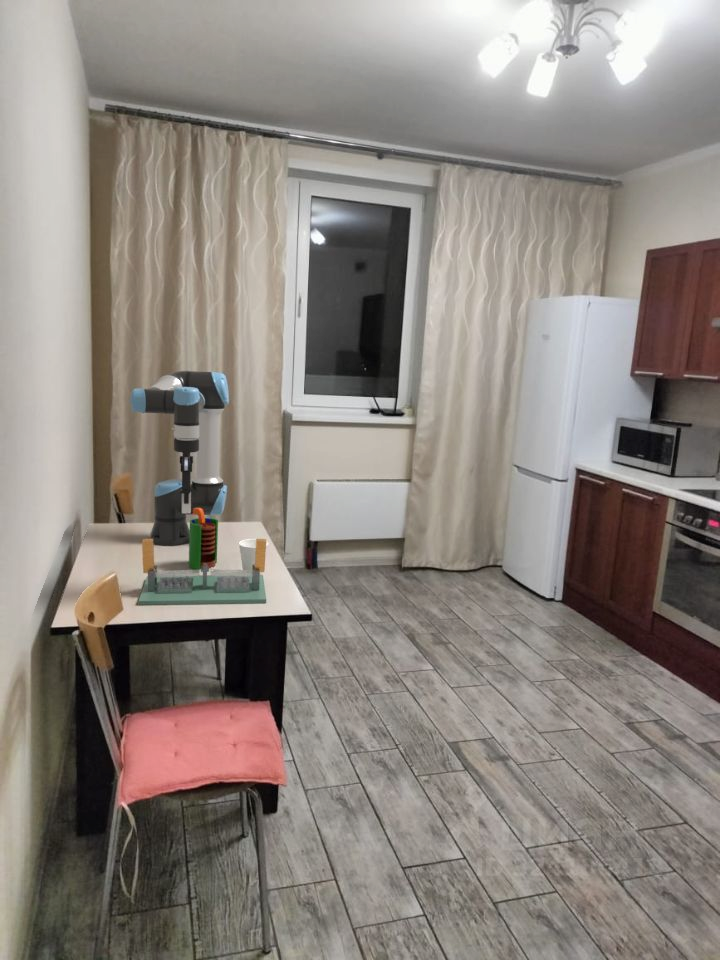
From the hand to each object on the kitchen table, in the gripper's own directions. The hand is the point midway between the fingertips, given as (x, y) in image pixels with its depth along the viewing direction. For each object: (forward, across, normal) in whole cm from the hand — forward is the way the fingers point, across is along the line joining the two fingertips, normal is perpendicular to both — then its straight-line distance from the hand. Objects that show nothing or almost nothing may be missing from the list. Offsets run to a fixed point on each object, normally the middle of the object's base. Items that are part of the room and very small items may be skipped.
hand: (186, 512), depth 217 cm
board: (+23, +7, +6) cm, 25 cm away
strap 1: (+19, +7, -4) cm, 20 cm away
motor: (+24, -18, +5) cm, 30 cm away
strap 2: (+19, +7, +16) cm, 26 cm away
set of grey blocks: (+22, +7, +6) cm, 24 cm away
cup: (+24, -7, +22) cm, 33 cm away
